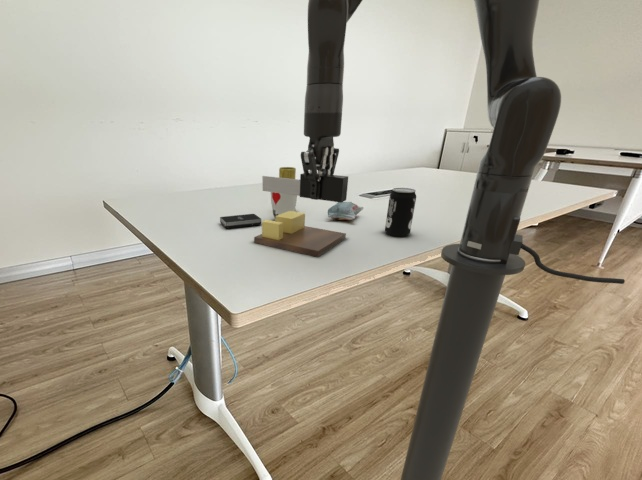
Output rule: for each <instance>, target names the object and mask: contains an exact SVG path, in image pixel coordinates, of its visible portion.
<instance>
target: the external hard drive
mask: <svg viewBox="0 0 642 480" xmlns="http://www.w3.org/2000/svg"><path fill="white" fill-rule="evenodd" d="M219 223H220V224H221V225H222V226H223V227H224V228H225V229H237V228H245V227H246V228H247V227H255V226H262V218H261V217H260V216H258V215H257V214H256V213H247V214H245V213H244V214H236V215H235V214H234V215H226V216H220V217H219Z"/></svg>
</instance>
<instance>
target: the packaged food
mask: <svg viewBox="0 0 642 480" xmlns="http://www.w3.org/2000/svg"><path fill="white" fill-rule="evenodd" d="M363 210H364V206H359V205H358V204H356V203H354V202H352V201H343V202H336V203H335V204H334V205H331V207H329V208H328V209H327V217H328V218H331V219H333V220H336V221H353V220H355V219H356V216H357V215H358V214H360V212H361V211H363Z"/></svg>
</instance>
